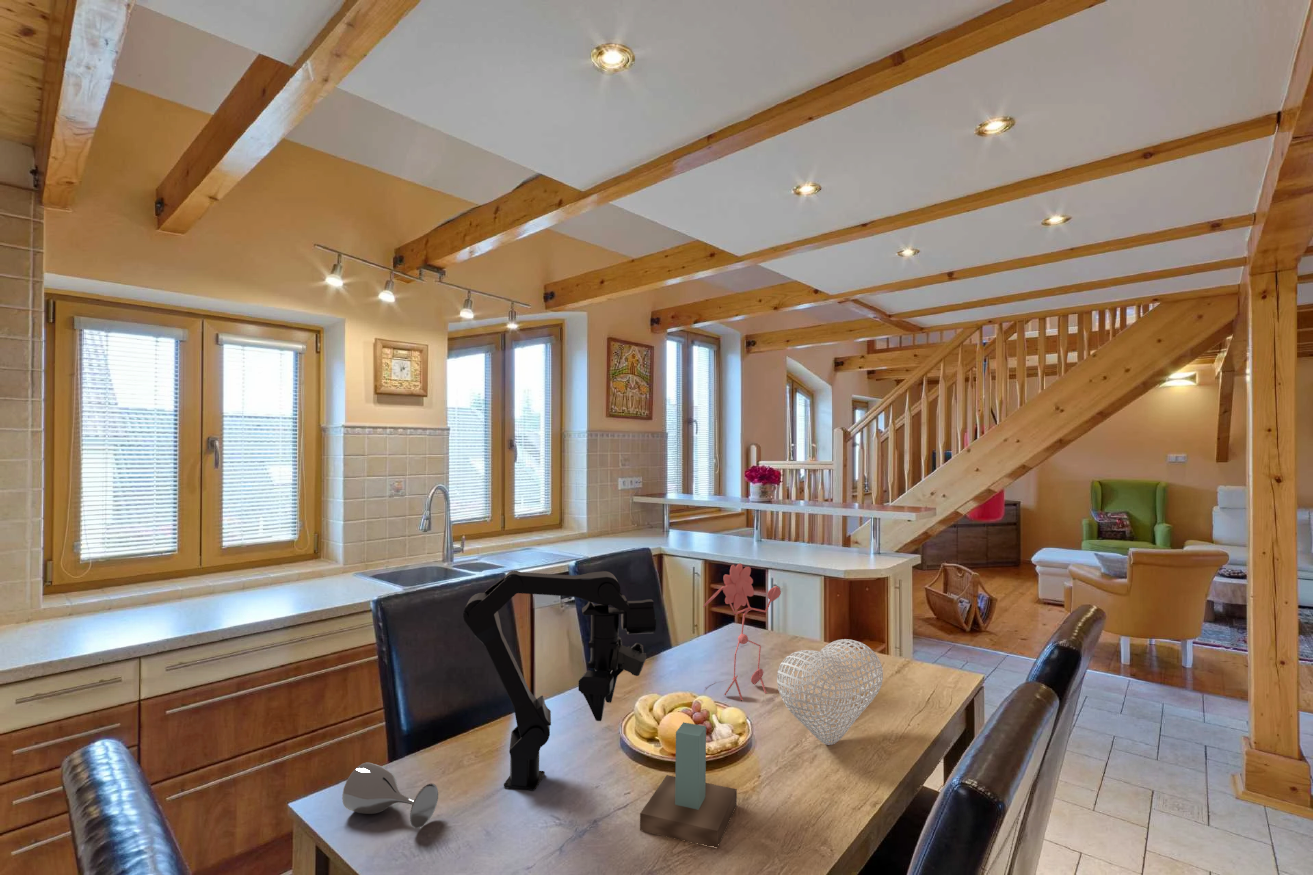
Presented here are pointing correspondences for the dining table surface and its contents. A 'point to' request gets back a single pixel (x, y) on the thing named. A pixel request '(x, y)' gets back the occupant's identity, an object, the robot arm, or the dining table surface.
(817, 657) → the heart
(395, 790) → the wine glass
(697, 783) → the teal block
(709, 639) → the dining table surface
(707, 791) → the walnut pedestal
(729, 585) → the flower headed figure
